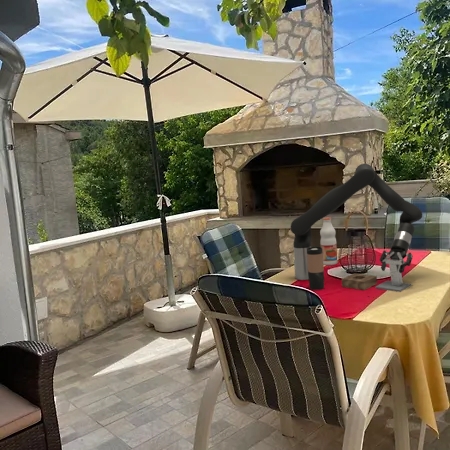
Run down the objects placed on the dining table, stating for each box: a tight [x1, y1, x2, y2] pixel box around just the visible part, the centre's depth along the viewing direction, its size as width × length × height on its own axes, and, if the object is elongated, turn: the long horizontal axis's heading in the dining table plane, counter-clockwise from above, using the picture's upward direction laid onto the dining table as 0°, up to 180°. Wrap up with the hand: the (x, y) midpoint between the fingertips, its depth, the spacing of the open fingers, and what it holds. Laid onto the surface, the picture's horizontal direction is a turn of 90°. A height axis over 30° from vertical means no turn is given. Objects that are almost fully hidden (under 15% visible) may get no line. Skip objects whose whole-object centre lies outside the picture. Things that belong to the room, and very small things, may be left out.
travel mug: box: [307, 246, 325, 291], centre depth 216 cm, size 8×8×20 cm
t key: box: [385, 258, 404, 286], centre depth 206 cm, size 8×4×12 cm, turn 39°
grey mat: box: [374, 280, 413, 293], centre depth 208 cm, size 12×12×1 cm
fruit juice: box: [319, 216, 338, 266], centre depth 264 cm, size 9×9×28 cm
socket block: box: [341, 272, 378, 291], centre depth 215 cm, size 12×12×4 cm
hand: (391, 271), depth 206 cm, fingers open, 8 cm apart
